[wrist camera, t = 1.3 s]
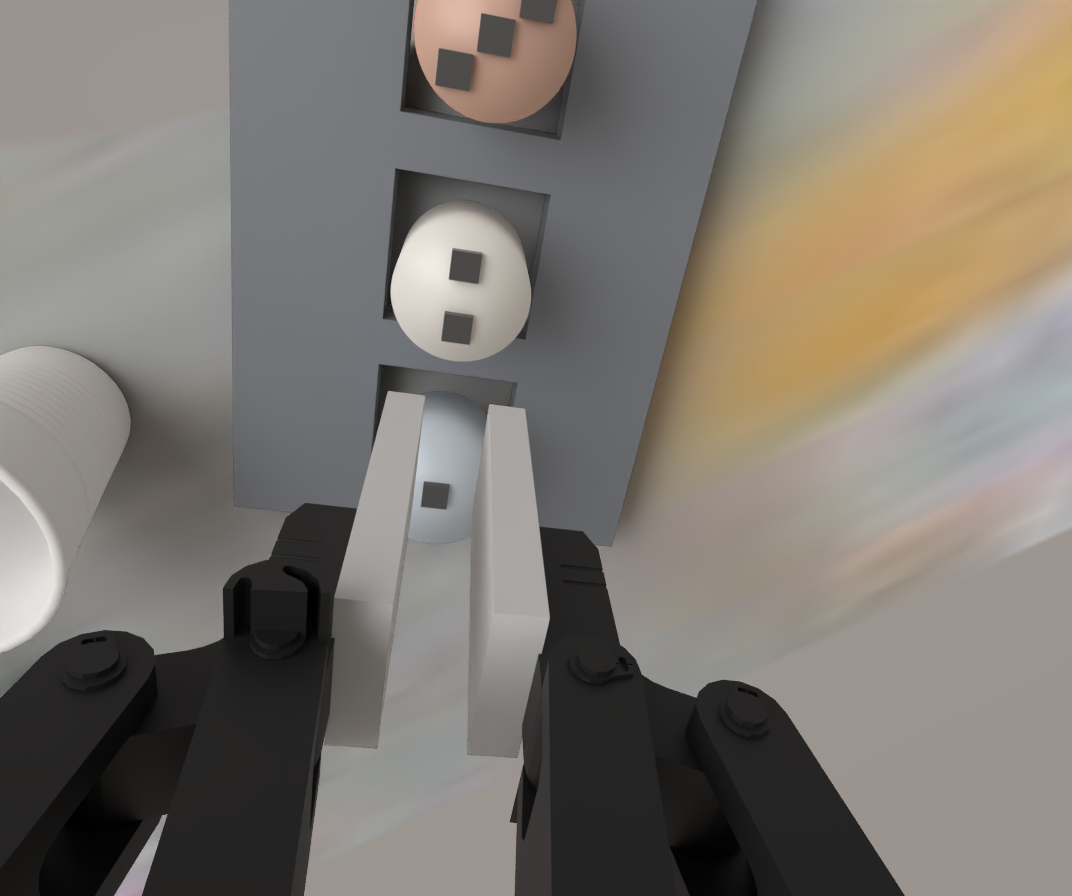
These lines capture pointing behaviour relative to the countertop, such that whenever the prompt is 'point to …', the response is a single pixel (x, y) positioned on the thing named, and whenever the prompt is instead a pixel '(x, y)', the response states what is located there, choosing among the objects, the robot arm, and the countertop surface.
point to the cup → (50, 476)
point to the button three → (495, 54)
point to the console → (480, 156)
